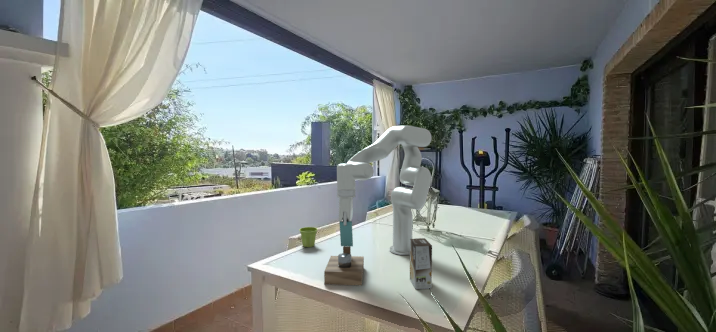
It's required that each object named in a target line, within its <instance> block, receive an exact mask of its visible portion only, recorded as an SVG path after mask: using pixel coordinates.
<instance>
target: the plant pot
mask: <svg viewBox="0 0 716 332" xmlns="http://www.w3.org/2000/svg"><path fill="white" fill-rule="evenodd" d="M318 230H319V229H318V228H317V227H313V226H303V227H301V228H299V230H298V231H299V232H300V237H301V243H302V244H301V245H302V247H303V246H304V247H303V248H313V247H314V246H315V243H316V237H317V236H316V235H317V232H318Z"/></svg>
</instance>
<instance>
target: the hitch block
mask: <svg viewBox="0 0 716 332" xmlns="http://www.w3.org/2000/svg"><path fill="white" fill-rule="evenodd" d="M351 247H352V246H342V253H348V254H351V267H349V268H340V267H339V266H338V255H330V257H329V260H328V262H327V264H326V267H325V269H324V271H323V272H324V273H323V279H324V281H323V282H324V285H335V286H336V285H338V286H339V285H340V286H362V284H363V278H364V269H365V266H364V265H365V262H364V260H365V257H364V256H358V255H357V256H356V255H352V253H351V251H352V250H351Z"/></svg>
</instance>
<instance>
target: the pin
mask: <svg viewBox="0 0 716 332" xmlns="http://www.w3.org/2000/svg"><path fill="white" fill-rule="evenodd" d="M337 256H338V266H339V267H340V268H349V267H351V256H352V253H351V254H348V253H343V252H342V253H339V254H338V255H337Z"/></svg>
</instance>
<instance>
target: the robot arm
mask: <svg viewBox="0 0 716 332" xmlns="http://www.w3.org/2000/svg"><path fill="white" fill-rule="evenodd" d="M432 137H433V136H432V134H431V132H430V130H428V129H426V128H425V127H424V128H423V127H418V126H413V125H407V124H406V125H393V126H390V127H389V128H388V129H386V131H384V132H383V133H382V135H381V136H380V137H379V138H378V139H377V140H376V141H375V142H373V143H372V144H370V145H368V146H367V147H365V148H363V149H362V150H360V151H358V152H357V153H355V154H353V156H352V157H351V158H350V159H349V160H348V161H347V162H345V163H339V164H337V166H336V191H337V192H336V194H337V195H336V197H337V198H338V200H339V201H338V222H340V221H344V226H347V221H349V222H350V221H352V219H353V216H354V215H353V213H354V211H353V210H354V209H353V208H354V200H353V198H356V181H367V180H370V179H371V178H373V176H374V172H375V171H374V167H373V166H372V165H371V163H374V162H379V161H381V160H384V159H386V158H387V157H389V155H390V154H391V153H392V152H393V151H394V150H395V149H396V148H397V147H398V146H399V145H401V147H402V149H403V152H404V156H403V157H404V158H403V161H402V166H401V169H400V173H399V181H400V183H401V184H403V185H406V187H405V186H397V187H395V188H393V189H392V191H391V192H390V193H391V194H390V202H391V206H392V245H391V246H390V247H389V252H391V253H392V254H394V255H398V256H399V255H400V256H410V239H413V220H414V219H413V212H412V210H415V211H417V210H421V209H422V208H423V207H424V206H425V204H426V202H427V197H428V194H429V189H430V187H431V184H432V183H431V182H432V174H431V171H430V170H429V168H427V167H424V166H421V164H422V158H423V157H422V156H423V155H422V153H421V150H420V149H419V148H425V147H428V146H430V143H431V142H432ZM408 186H411V187H408ZM412 187H413V188H412Z"/></svg>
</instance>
